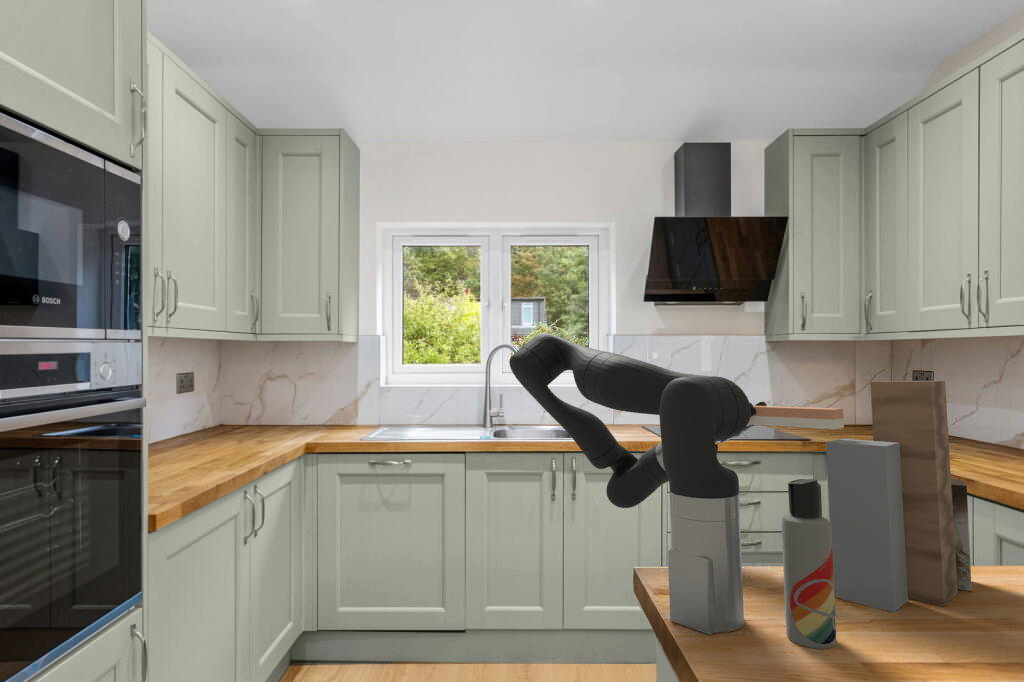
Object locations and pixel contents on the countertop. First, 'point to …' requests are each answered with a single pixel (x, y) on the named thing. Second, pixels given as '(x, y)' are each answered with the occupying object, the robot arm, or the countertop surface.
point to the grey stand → (867, 522)
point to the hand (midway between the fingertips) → (759, 407)
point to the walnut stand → (921, 481)
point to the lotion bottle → (808, 568)
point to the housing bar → (798, 417)
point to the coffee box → (961, 534)
